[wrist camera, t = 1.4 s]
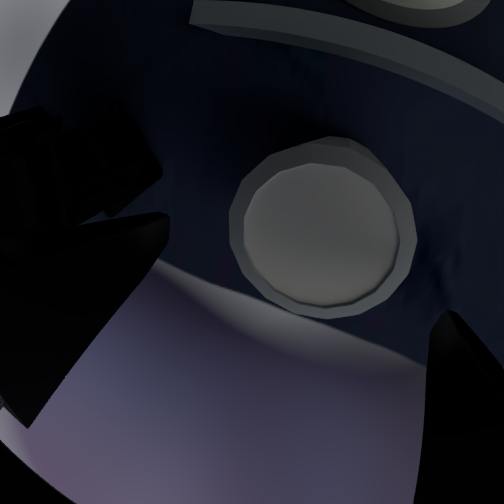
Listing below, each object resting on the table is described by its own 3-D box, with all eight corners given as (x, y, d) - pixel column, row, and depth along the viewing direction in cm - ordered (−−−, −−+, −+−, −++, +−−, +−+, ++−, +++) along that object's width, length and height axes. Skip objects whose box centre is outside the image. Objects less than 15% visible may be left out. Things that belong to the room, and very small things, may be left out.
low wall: (511, 105, 11) (547, 112, 7) (506, 125, 11) (541, 136, 8) (228, 16, 14) (194, 0, 10) (224, 35, 14) (189, 23, 11)
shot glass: (392, 120, 14) (416, 138, 8) (397, 242, 17) (410, 321, 11) (264, 131, 16) (208, 156, 11) (283, 244, 19) (245, 317, 14)
